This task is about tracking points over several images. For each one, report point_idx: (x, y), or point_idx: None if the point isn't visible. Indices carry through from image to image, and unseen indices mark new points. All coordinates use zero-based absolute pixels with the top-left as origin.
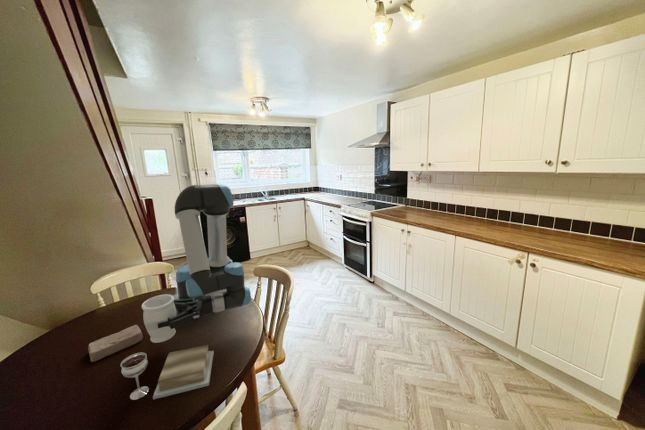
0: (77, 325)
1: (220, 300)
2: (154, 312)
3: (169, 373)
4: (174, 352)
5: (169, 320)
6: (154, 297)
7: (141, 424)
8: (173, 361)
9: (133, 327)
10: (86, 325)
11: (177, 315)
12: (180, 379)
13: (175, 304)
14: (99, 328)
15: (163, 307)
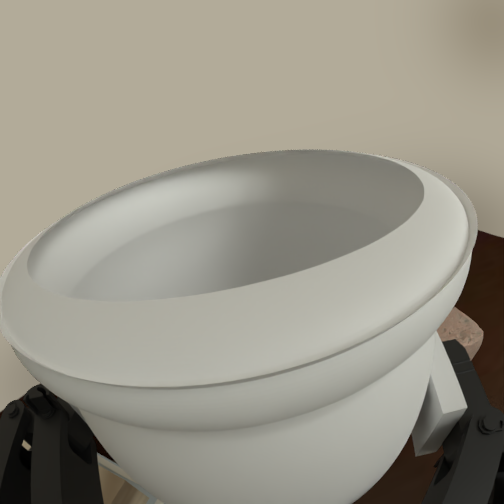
0: (497, 243)
1: None
2: (105, 254)
3: None
4: (106, 496)
5: (35, 404)
6: (399, 169)
7: (23, 395)
8: None
9: (466, 329)
10: (499, 253)
11: (53, 488)
12: None
13: (442, 494)
14: (492, 273)
15: (28, 264)
